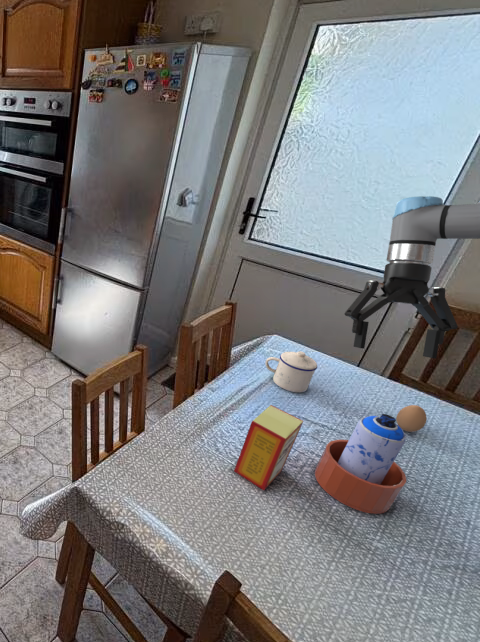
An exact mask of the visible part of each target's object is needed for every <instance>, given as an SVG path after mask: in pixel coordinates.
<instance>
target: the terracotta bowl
mask: <svg viewBox="0 0 480 642" xmlns="http://www.w3.org/2000/svg"><path fill="white" fill-rule="evenodd" d="M348 441H349V439H335V440H330V441H329V442H328V443H327V444H326V446H325V447H324V450H323V452H322V453H321V455H320V458H319V460H318V462H317V464H316V466H315V469H314V477H315V479H316V481H317V483H318V484H319V486H320V487H321V488H322V489H323V490H324V491H325V492H326V493H327V494H328V495H329V496H331V497H332V498H333V499H335V500H336V501H337V502H340V503H341V504H342V505H345V506H347V507H349V508H351V509H354V510H356V511H359V512H362V513H365V514H372V515H380V514H385V513H386V512H388V511H389V510H390V509H391V507H392V506H393V505H394V502H395V501H396V499H397V498H398V496H399V495H400V493H401V491H402V490H403V488H404V487H405V485H406V483H407V475H406V474H405V472H404V470H403V468H402V467H401V466H400V465H399V464H397V463H396V462H395V461H394V462H393V464H392V465H391V467H390V469H389V471H388V472H387V474H386V476H385V477H384V479H383V481H382V482H381V484H380V485H379V484H375V483H371V482H368V481H366V480H363V479H361V478H359V477H357V476H355V475H353V474H352V473H350V472H348V471H347V470H345V469H344V468H343V467H341V466H340V465H339V464H338V461H339V459H340V457H341V455H342V453H343V451H344V449H345V447H346V445H347V443H348Z"/></svg>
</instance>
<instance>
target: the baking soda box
mask: <svg viewBox="0 0 480 642" xmlns="http://www.w3.org/2000/svg"><path fill="white" fill-rule="evenodd" d="M303 423H304V420H303V419H301V418H299V417H296V416H294V415H293V414H291V413H288V412H286V411H284V410H282V409H281V408H278V407H277V406H274V405H272V404H270V405H269V406H268V407H267V408H265V409H264V410H263V411H262V412H261V413H260V414H258V415H257V416H256V417H255V418H254V419H253V420H252V421H251V423H250V426H249V429H248V431H247V434H246V437H245V439H244V442H243V445H242V447H241V450H240V453H239V456H238V458H237V461H236V464H235V467H234V469H233V472H235V474H237V475H239V476H241V477H242V478H244V479H245V480H246V481H248V482H250V483H251V484H252V485H254V486H256V487H257V488H259V489H260V490H261V491H265V490H267V488H268V487H269V485H271V483H272V482H273V481H274V480H275V479H276V478H277V477H278V476H279V475H280V474H281V472H283V470H284V467H285V464H287V460H288V458H289V456H290V453H291V451H292V449H293V447H294V444H295V443H296V442H295V441H296V440H297V437H298V436H299V433H300V430H301V427H302V425H303Z"/></svg>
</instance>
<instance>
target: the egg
mask: <svg viewBox="0 0 480 642" xmlns="http://www.w3.org/2000/svg"><path fill="white" fill-rule="evenodd" d="M395 419H396V421H395V422H396V424H397V425H398V426H399V427H400V428H401V429H402V431H404V432H407V433H414V432H418V431H420V430H422V429H423V428H424V427H425V426H426V424H427V421H428V420H427V419H428V418H427V412H426V411H425V409H424V408H422V407H421V406H419V405H418V404H417V405H416V404H411V405H410V404H409V405H407V406H405V407H403V408H401V409H400V410H399V411H398V412H397V414H396V417H395Z"/></svg>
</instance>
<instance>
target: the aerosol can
mask: <svg viewBox="0 0 480 642" xmlns="http://www.w3.org/2000/svg"><path fill="white" fill-rule="evenodd" d="M357 421H358V422H357V423H356V425H355V426H354V427H355V428H354V429H353V431H352V433H351V435H350V437H349V439H348V440H349V441H348V443H347V445H346V447H345V449H344V451H343V453H342V455H341V457H340V459H339V461H338V464H339V465H340V466H341V467H343V468H344V469H345V470H347V471H348V472H350V473H352V474H353V475H355V476H357V477H359V478H361V479H363V480H366V481H368V482H371V483H375V484H379V485H380V484H381V482H382V481H383V479H384V477H385V476H386V474H387V472H388V471H389V469H390V467H391V465H392V464H393V462H395V461H396V459H397V457H398V456H399V454H400V452H401V450H402V448H403V447H404V445H405V443H406V442H407V441H406V439H407V436H406V434H405V431H404V430H403V429H401V428H400V427H399V426H398V424H397V421H396V417H394V416H392V415H390V414H386V413H381V414H380V416H378V415H369V416H364V417H361V418H360V419H358V420H357Z"/></svg>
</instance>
